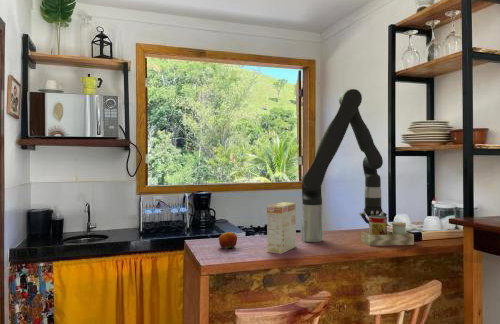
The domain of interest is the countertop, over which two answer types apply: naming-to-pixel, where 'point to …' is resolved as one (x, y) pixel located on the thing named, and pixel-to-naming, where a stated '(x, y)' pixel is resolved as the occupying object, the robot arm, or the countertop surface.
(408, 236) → the grey green tray
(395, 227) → the jar
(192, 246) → the countertop surface
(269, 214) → the coffeecake box
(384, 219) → the canned food
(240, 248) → the countertop surface
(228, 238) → the fruit
